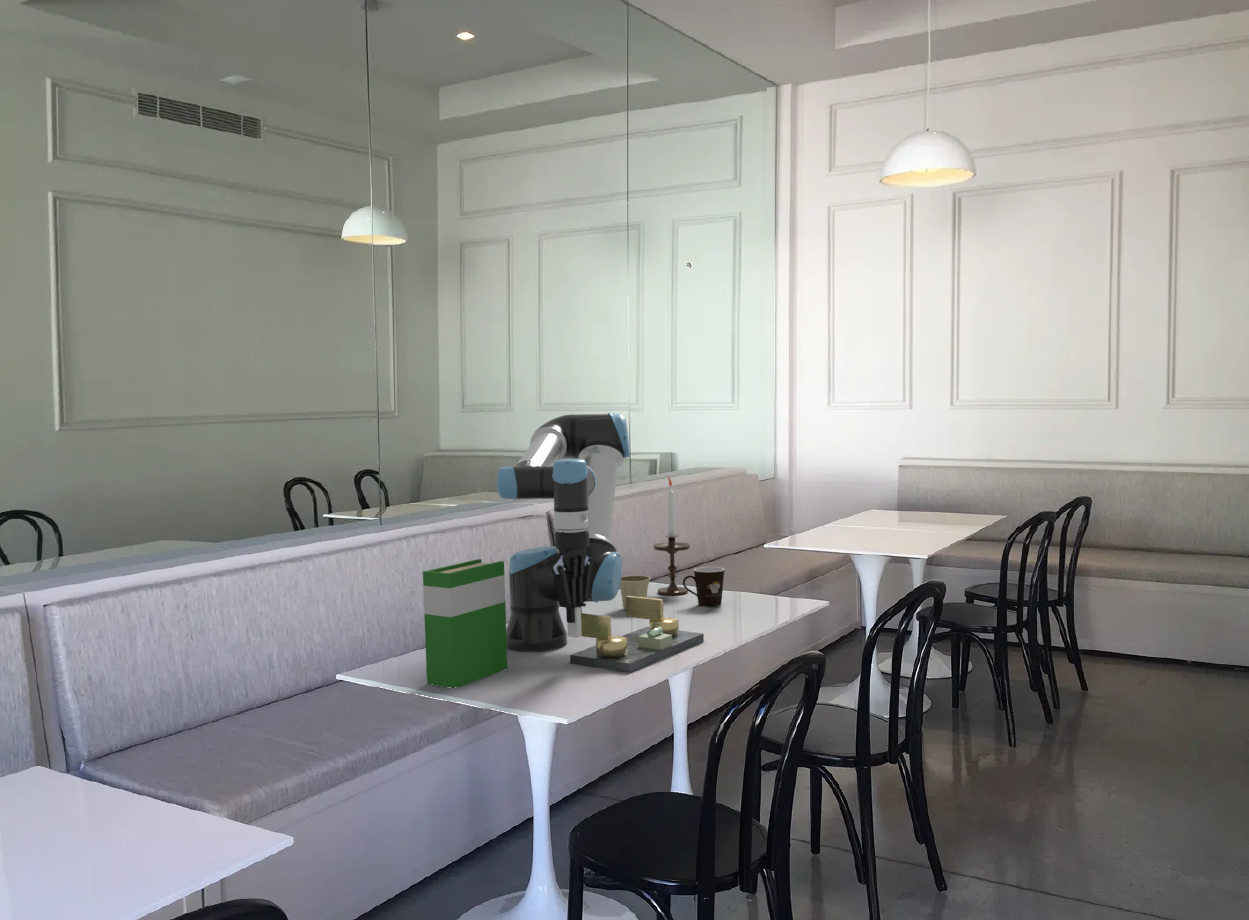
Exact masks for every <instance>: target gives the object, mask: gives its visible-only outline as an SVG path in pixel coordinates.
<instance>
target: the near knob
mask: <svg viewBox="0 0 1249 920" xmlns="http://www.w3.org/2000/svg"><path fill="white" fill-rule="evenodd" d="M581 630H582V636H581V637H584V638H591V639H592V638H593V639H595V646H596V654H597V655H599V656H605V657H616V656H622V655H625V654H627V653H628V645H627V638H625V637H622V636H623V635H621V636H619V635H612V616H608V615H599V614H593V613H590V614H589V613H583V612H582V620H581Z"/></svg>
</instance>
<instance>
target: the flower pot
mask: <svg viewBox="0 0 1249 920" xmlns="http://www.w3.org/2000/svg"><path fill="white" fill-rule="evenodd" d="M650 580H651V577H650V576H646V575H625V576H621V581H620V586H619V591H620V595H621V600H622V607H623V610H625V611H626V596H636V597H645V598H648V589H649V584H650Z"/></svg>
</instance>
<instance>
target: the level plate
mask: <svg viewBox="0 0 1249 920" xmlns="http://www.w3.org/2000/svg"><path fill="white" fill-rule="evenodd" d="M662 633H663V628H662V627H658V628H655V629H652V630H650V626H646V627H643V628H640V629H637V630H635V631H632V632H629V633H626V634H624V635H621V636H622V637H625V638H627V645H628V653H627V654H625V655H622V656H616V657H605V656H599V655H597V654H596V645H592V646H590V647H587V648H584V649H583V650H579V651H577V652H574V653H571V654H569V664H571V665H576V666H583V667H590V668H596V669H602V670H610V671H616V672H623V673H629V674H630V673H632V672H634V671H637V670H640V669H641V668H642V669H643V668H644V667H646V666H649V665H652V664H653V663H656V662H658V661H661V660H663V659H665V658H668V657H670V656H673V655H675V654H677V653H680V652H682V651H685V650H687V649H689V648H692V647H695V646H698V645H699V644H702V643H704V641H705V640H704V639H705V638H704V637H705V636H704V633H702V632H695V631H687V630H679V633H678V634H677V635H673V636H672V635H669V634H662Z"/></svg>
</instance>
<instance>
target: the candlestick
mask: <svg viewBox="0 0 1249 920" xmlns="http://www.w3.org/2000/svg"><path fill="white" fill-rule="evenodd" d="M667 481H668V484H669V485H668V486H669V489H668V491H667V524H668V529H667V530H668V533H667V534H668V535H665V538H667V542H660V543H655V544H654V545H653V550H655V551H659V552H660V551H661V552H666V553H667V554H669V565H668V566H667V571H669V575H668V578H670V579H669V580H670V581H669V582H670V583H669V584H668V586H666V587H665V586H664V587H660V588H658V589H657V594H658V595H661V596H668V597H669V596H671V597H672V596H673V597H675V596H676V597H677V596H683V595H687V594H688V593H689V591H688V590H687V589H686V588H685V587H684V586H683V587H681V586H677V584H676V578H677V575H676V571H677V570H678V567H677V565H675V554H677V552H682V551H687V550H690V549H691V544H690V543H688V542H679V541H678V542H676V538H677V537H679V536H678V535H676V534H675V529H676V527H675V526H676V525H675V493H674V492H675V491H673V488H672V484H673V483H672V480H671V478H670V476H668V479H667Z"/></svg>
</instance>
